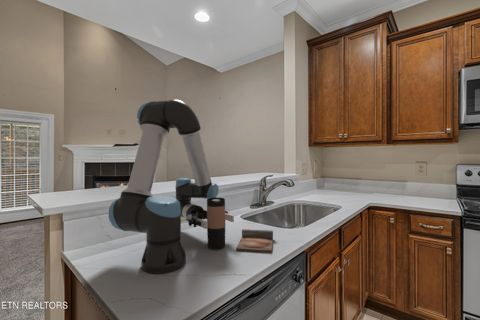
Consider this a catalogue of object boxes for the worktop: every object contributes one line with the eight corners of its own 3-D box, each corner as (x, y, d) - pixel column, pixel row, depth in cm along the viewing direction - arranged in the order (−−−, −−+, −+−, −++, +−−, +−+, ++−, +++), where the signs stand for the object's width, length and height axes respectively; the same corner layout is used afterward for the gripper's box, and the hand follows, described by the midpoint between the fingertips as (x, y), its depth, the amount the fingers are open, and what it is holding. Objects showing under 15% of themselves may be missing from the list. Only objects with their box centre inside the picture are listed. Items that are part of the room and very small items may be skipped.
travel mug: (214, 241, 105) (214, 196, 104) (229, 245, 101) (228, 198, 101) (203, 247, 98) (202, 199, 98) (218, 251, 94) (217, 201, 94)
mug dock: (271, 253, 93) (271, 242, 93) (236, 250, 95) (236, 240, 95) (272, 239, 107) (272, 230, 107) (242, 237, 110) (242, 229, 110)
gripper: (214, 215, 122) (243, 224, 106) (168, 225, 105) (194, 238, 89) (214, 201, 121) (242, 208, 106) (168, 209, 105) (193, 218, 89)
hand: (220, 221), depth 97 cm, fingers open, 13 cm apart
